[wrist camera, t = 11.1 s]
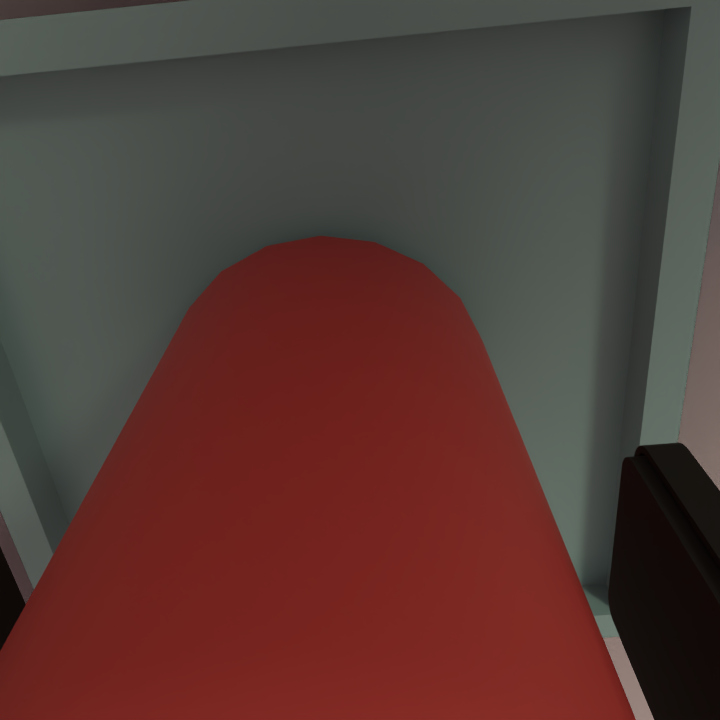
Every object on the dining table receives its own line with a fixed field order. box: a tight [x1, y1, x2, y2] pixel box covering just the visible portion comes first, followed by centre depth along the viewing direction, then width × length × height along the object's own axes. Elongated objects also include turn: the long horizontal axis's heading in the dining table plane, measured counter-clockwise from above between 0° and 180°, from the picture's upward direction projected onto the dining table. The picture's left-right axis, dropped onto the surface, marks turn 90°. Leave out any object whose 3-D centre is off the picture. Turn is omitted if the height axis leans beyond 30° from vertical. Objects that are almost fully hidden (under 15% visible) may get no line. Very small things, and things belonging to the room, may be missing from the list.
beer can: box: [0, 236, 636, 720], centre depth 9 cm, size 7×7×12 cm
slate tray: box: [0, 0, 720, 638], centre depth 15 cm, size 15×15×2 cm
